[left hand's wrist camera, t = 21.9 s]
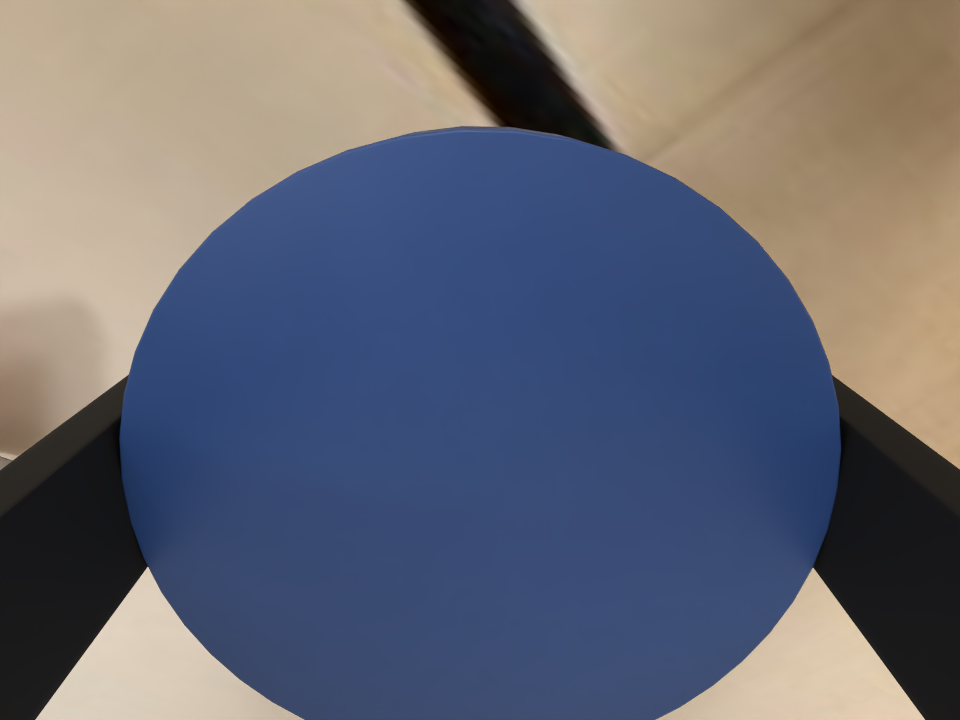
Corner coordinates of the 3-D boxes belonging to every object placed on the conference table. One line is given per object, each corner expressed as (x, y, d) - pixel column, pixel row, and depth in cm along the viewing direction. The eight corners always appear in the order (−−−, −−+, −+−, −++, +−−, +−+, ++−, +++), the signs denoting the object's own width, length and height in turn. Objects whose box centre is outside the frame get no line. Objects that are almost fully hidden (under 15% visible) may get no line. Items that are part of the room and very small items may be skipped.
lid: (317, 731, 14) (295, 814, 13) (50, 254, 11) (-31, 280, 9) (827, 608, 13) (877, 680, 12) (729, 20, 9) (783, -1, 8)
